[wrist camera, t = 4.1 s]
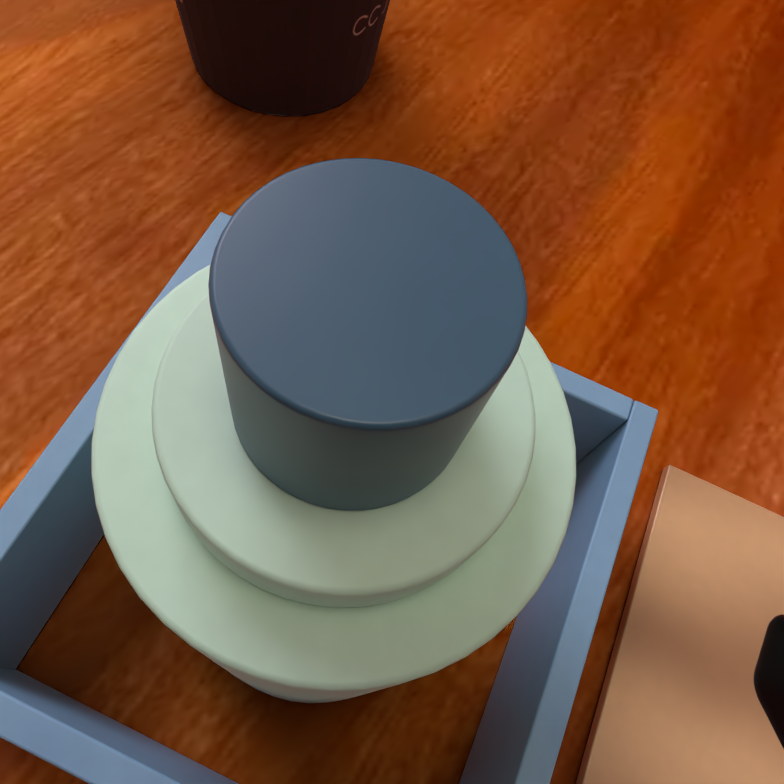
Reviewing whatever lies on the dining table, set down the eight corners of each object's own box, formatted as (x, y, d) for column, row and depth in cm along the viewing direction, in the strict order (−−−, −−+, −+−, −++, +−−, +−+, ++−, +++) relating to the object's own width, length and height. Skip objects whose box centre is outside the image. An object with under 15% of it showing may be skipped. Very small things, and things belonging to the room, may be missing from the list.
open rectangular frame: (440, 924, 14) (489, 994, 11) (-25, 683, 15) (-123, 674, 12) (591, 466, 19) (660, 410, 16) (233, 300, 20) (220, 210, 16)
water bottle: (384, 753, 16) (616, 850, 4) (133, 628, 16) (-229, 427, 5) (482, 504, 18) (779, 179, 7) (267, 403, 19) (231, -55, 8)
